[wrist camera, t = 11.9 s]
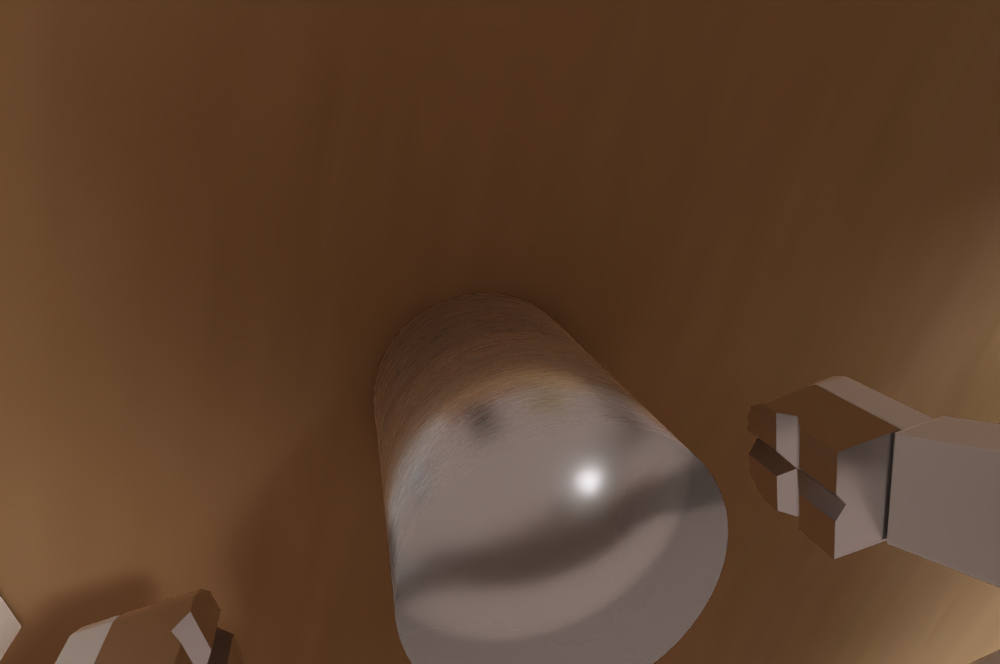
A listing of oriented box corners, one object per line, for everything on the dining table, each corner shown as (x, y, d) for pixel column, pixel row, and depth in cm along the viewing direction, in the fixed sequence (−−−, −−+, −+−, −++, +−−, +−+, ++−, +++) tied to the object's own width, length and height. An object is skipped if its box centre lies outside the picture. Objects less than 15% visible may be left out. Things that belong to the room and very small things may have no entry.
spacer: (562, 269, 11) (722, 380, 6) (588, 448, 12) (732, 643, 8) (347, 324, 10) (349, 493, 6) (403, 506, 12) (440, 755, 7)
